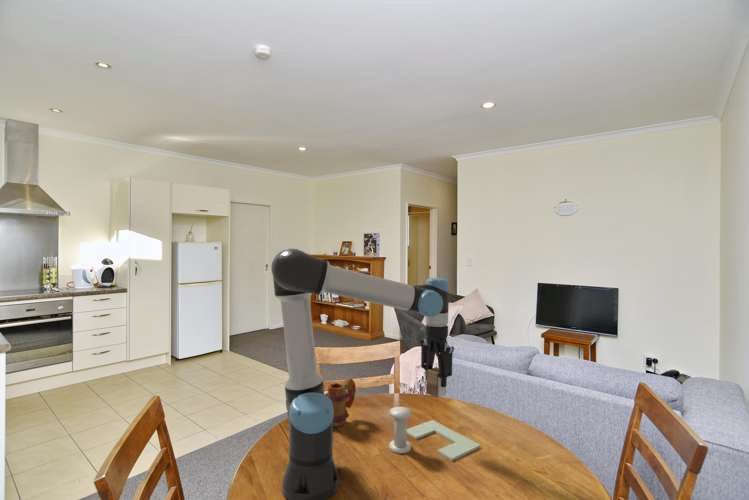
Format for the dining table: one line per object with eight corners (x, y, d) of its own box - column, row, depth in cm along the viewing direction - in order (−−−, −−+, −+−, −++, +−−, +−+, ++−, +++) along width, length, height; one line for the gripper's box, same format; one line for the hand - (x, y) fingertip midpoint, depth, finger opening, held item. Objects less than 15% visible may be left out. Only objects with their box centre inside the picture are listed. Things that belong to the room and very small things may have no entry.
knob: (398, 456, 118) (399, 418, 118) (385, 446, 124) (385, 410, 124) (415, 449, 122) (416, 412, 122) (401, 440, 128) (401, 405, 128)
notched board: (451, 461, 116) (451, 458, 116) (404, 432, 134) (404, 430, 133) (480, 447, 124) (480, 445, 124) (432, 422, 142) (432, 419, 142)
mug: (335, 432, 133) (336, 389, 133) (319, 425, 138) (319, 384, 138) (361, 417, 144) (362, 378, 144) (345, 411, 149) (346, 373, 149)
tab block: (436, 397, 124) (436, 373, 124) (426, 393, 128) (426, 369, 127) (445, 394, 127) (445, 371, 127) (435, 390, 130) (436, 367, 130)
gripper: (464, 327, 122) (463, 399, 122) (426, 319, 136) (425, 383, 136) (449, 330, 118) (447, 405, 118) (411, 321, 132) (409, 387, 132)
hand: (435, 393), depth 127 cm, fingers closed on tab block, 4 cm apart
